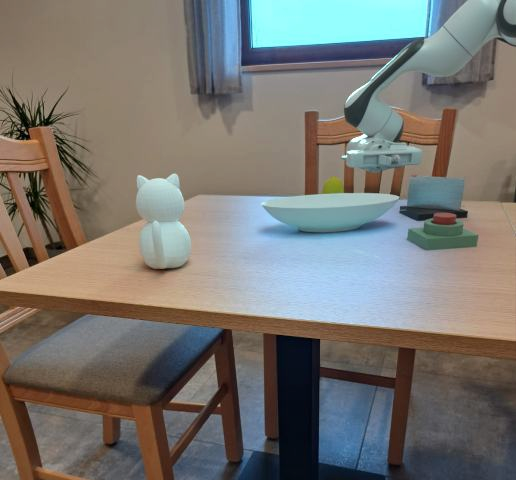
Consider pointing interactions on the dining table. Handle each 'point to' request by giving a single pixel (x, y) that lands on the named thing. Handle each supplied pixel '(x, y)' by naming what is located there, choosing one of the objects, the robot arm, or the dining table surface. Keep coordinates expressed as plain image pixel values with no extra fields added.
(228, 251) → the dining table surface
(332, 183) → the lemon
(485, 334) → the dining table surface
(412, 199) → the blue card stand
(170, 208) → the cat figurine
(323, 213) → the bowl
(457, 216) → the plate
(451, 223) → the button
